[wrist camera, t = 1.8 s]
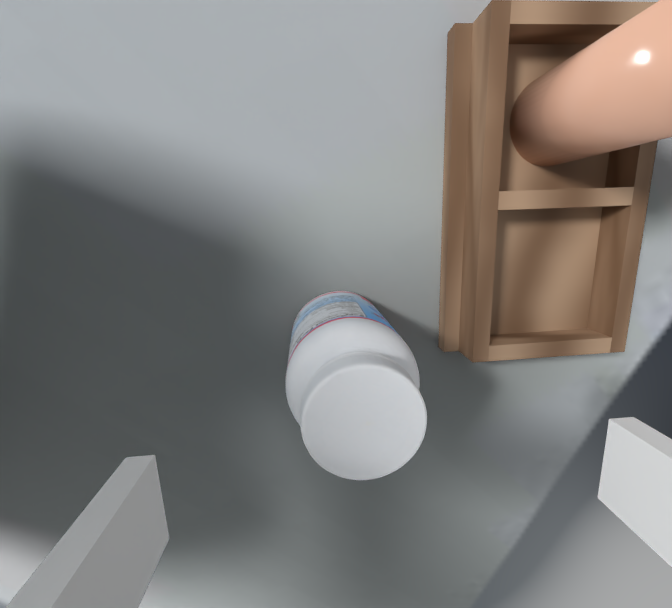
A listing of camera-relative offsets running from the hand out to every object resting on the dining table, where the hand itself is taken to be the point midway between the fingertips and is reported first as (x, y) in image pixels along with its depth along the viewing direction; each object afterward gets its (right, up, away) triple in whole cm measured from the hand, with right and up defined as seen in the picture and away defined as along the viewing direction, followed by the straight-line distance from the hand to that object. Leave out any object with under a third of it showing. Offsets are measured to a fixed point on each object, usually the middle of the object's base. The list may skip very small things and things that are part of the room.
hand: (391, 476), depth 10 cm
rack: (+11, +12, +12) cm, 20 cm away
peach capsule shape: (+11, +16, +10) cm, 22 cm away
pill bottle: (-2, +3, +13) cm, 14 cm away
